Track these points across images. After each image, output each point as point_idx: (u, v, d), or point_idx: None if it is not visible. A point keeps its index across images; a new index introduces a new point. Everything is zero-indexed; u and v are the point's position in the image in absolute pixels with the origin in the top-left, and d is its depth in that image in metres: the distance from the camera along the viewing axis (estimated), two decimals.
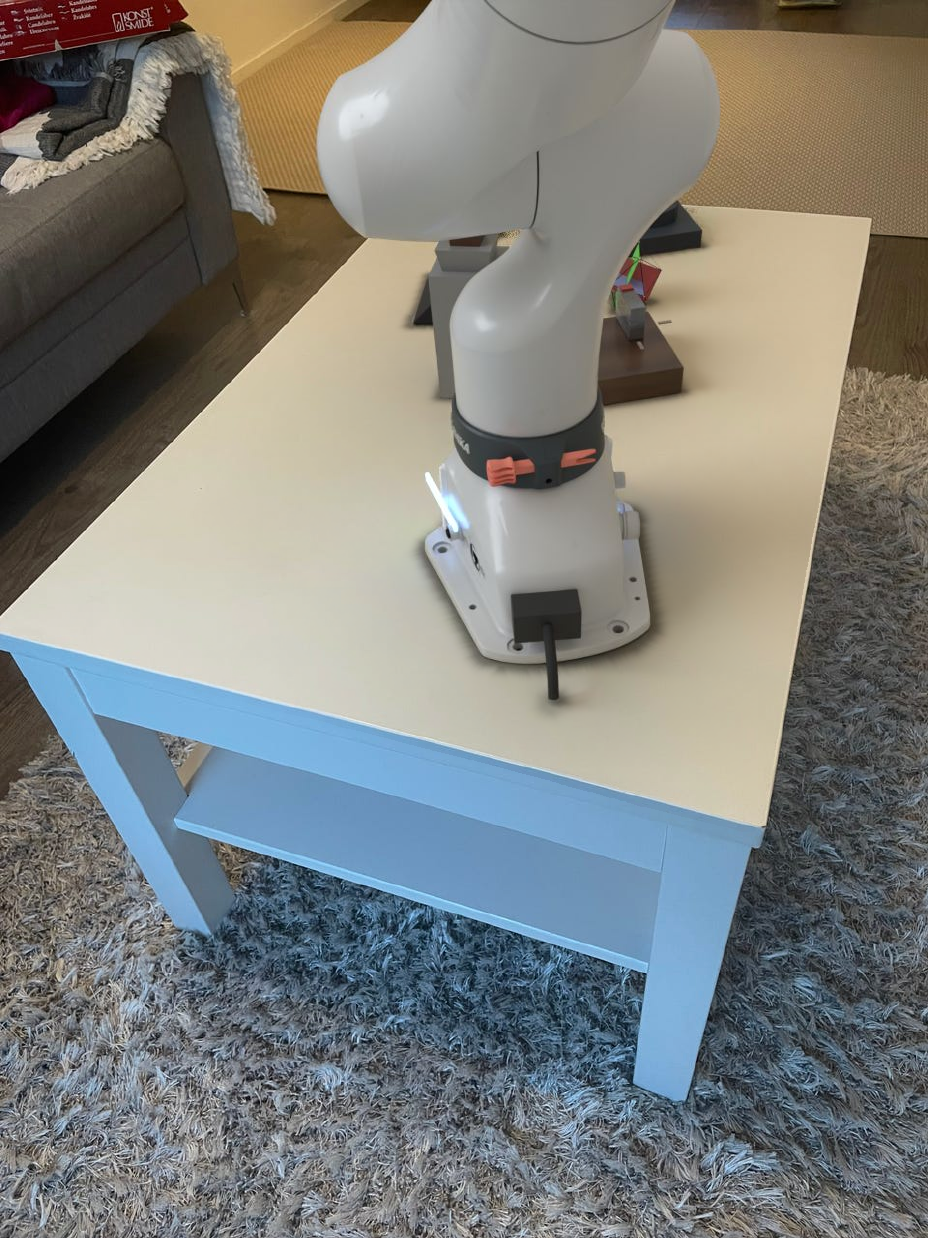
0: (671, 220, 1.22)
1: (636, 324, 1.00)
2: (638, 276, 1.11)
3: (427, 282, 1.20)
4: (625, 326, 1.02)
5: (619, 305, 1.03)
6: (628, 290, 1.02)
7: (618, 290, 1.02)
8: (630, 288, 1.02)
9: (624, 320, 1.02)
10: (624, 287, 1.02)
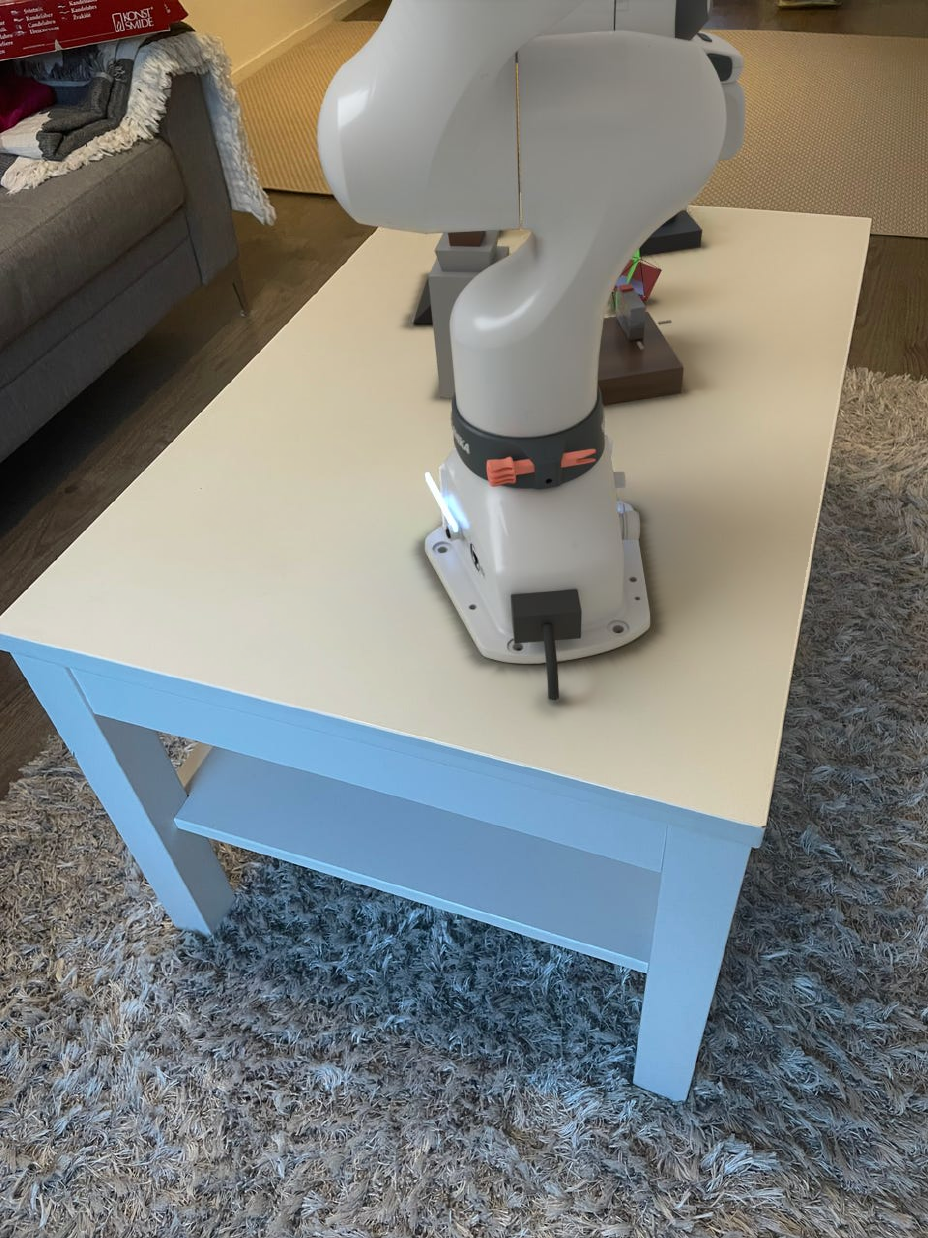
0: (671, 220, 1.22)
1: (636, 324, 1.00)
2: (638, 276, 1.11)
3: (427, 282, 1.20)
4: (625, 326, 1.02)
5: (619, 305, 1.03)
6: (628, 290, 1.02)
7: (618, 290, 1.02)
8: (630, 288, 1.02)
9: (624, 320, 1.02)
10: (624, 287, 1.02)
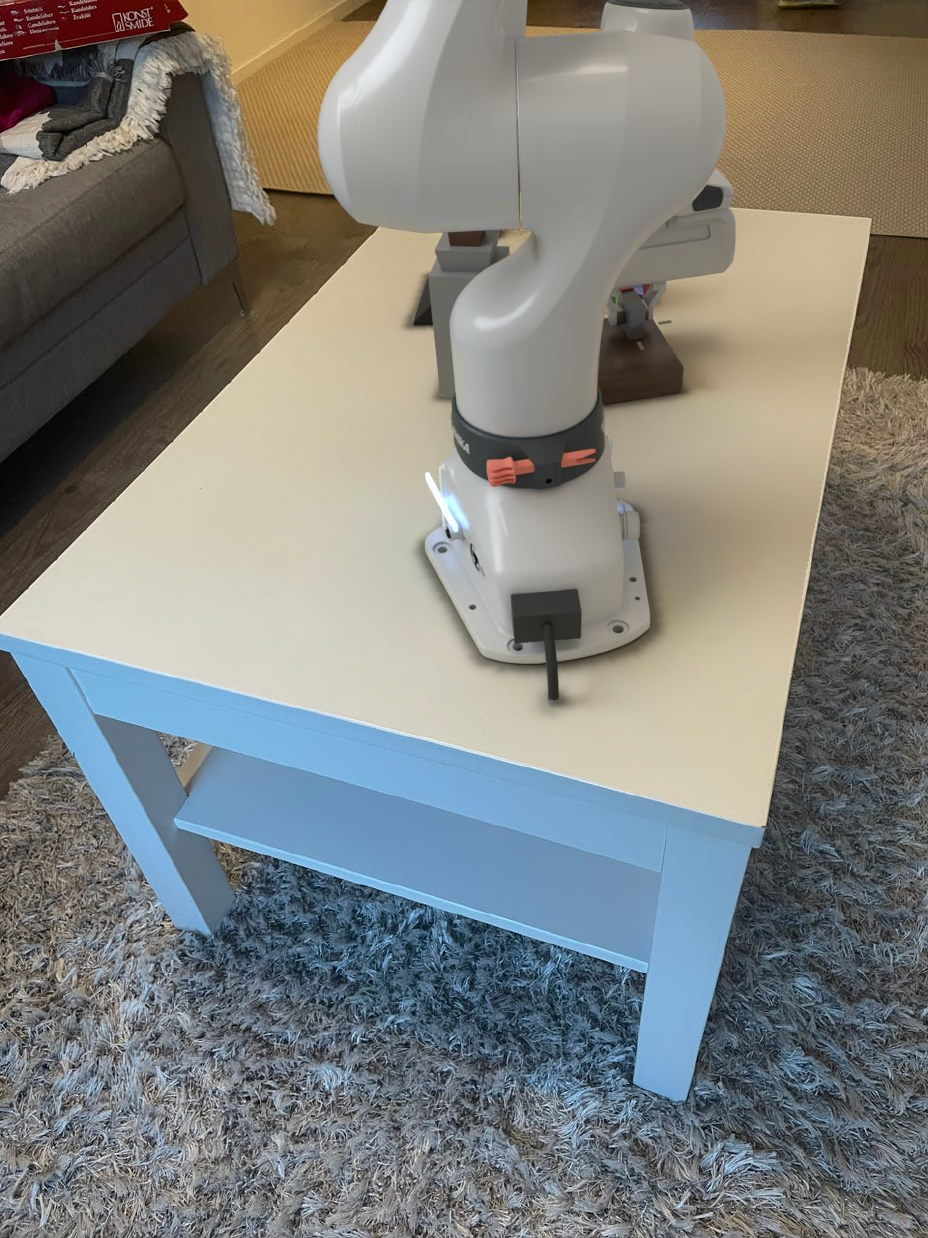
0: None
1: (636, 324, 1.00)
2: None
3: (427, 282, 1.20)
4: (625, 326, 1.02)
5: None
6: (628, 290, 1.02)
7: (618, 290, 1.02)
8: (630, 288, 1.02)
9: None
10: (624, 287, 1.02)
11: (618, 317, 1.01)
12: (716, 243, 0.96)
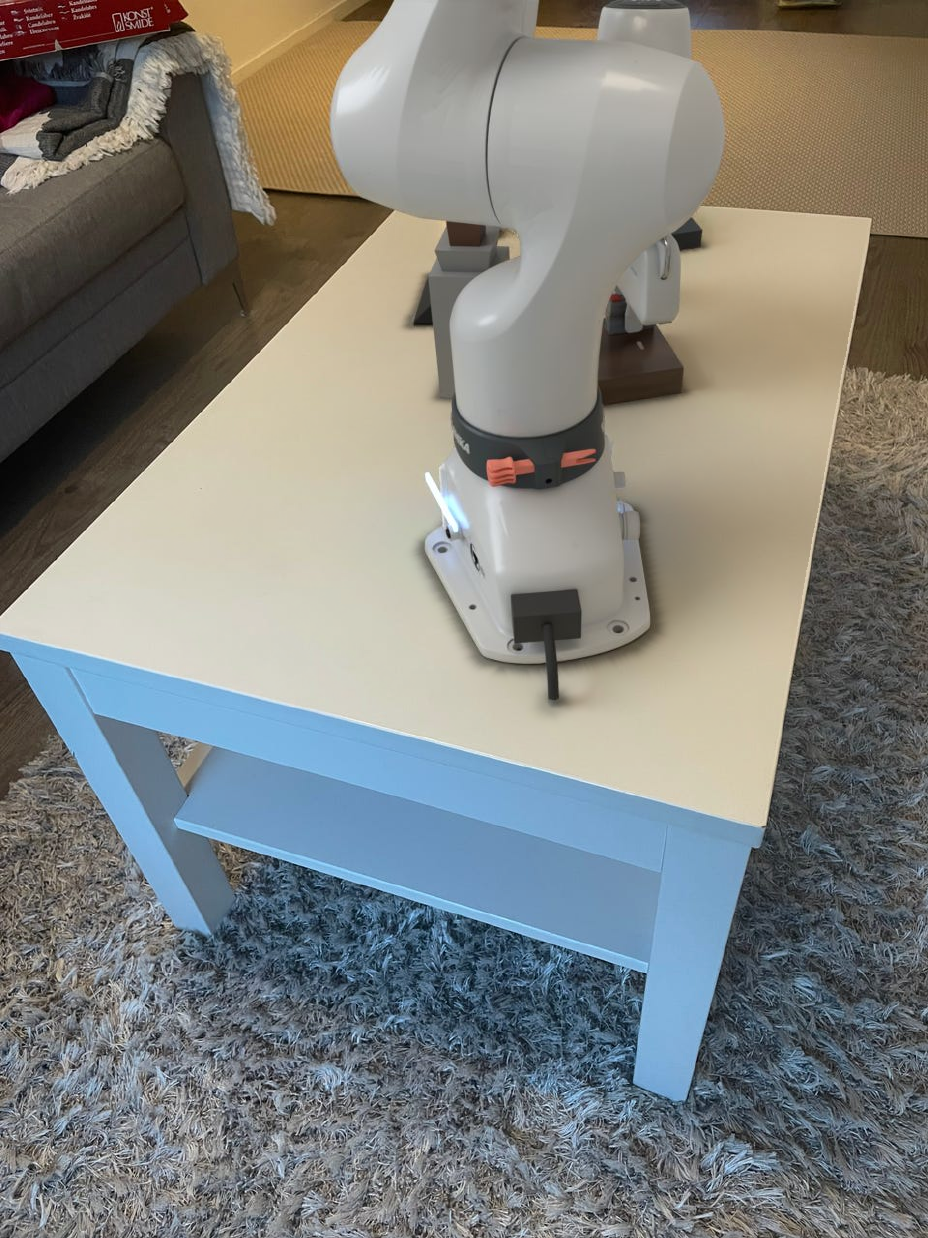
0: None
1: None
2: None
3: (427, 282, 1.20)
4: None
5: (618, 316, 1.01)
6: (618, 297, 1.01)
7: (614, 304, 1.00)
8: (618, 295, 1.01)
9: None
10: (616, 298, 1.00)
11: None
12: None
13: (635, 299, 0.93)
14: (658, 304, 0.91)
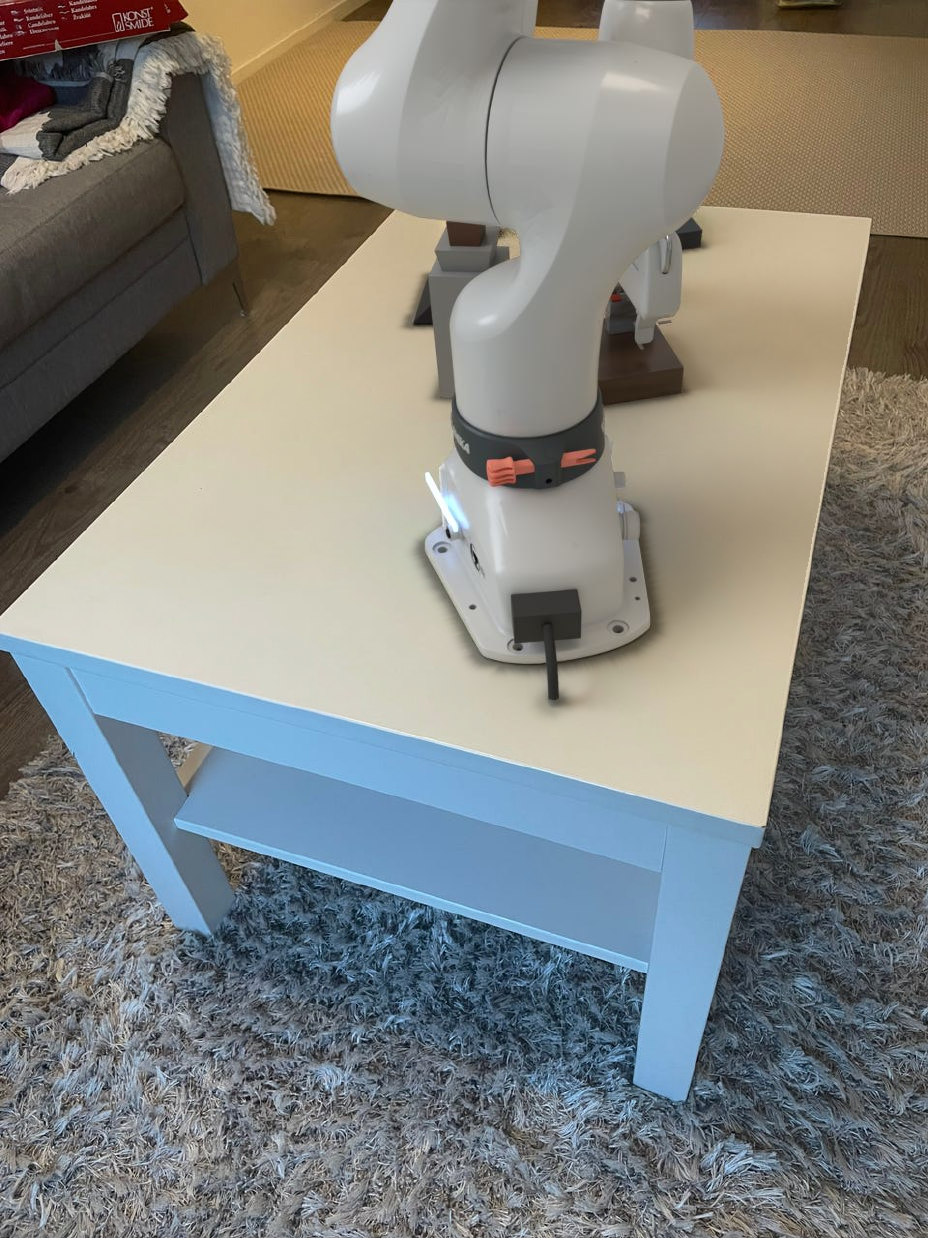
0: None
1: None
2: None
3: (427, 282, 1.20)
4: None
5: (618, 316, 1.01)
6: (618, 297, 1.01)
7: (614, 304, 1.00)
8: (618, 295, 1.01)
9: None
10: (616, 298, 1.00)
11: None
12: None
13: (636, 294, 0.92)
14: (659, 299, 0.90)
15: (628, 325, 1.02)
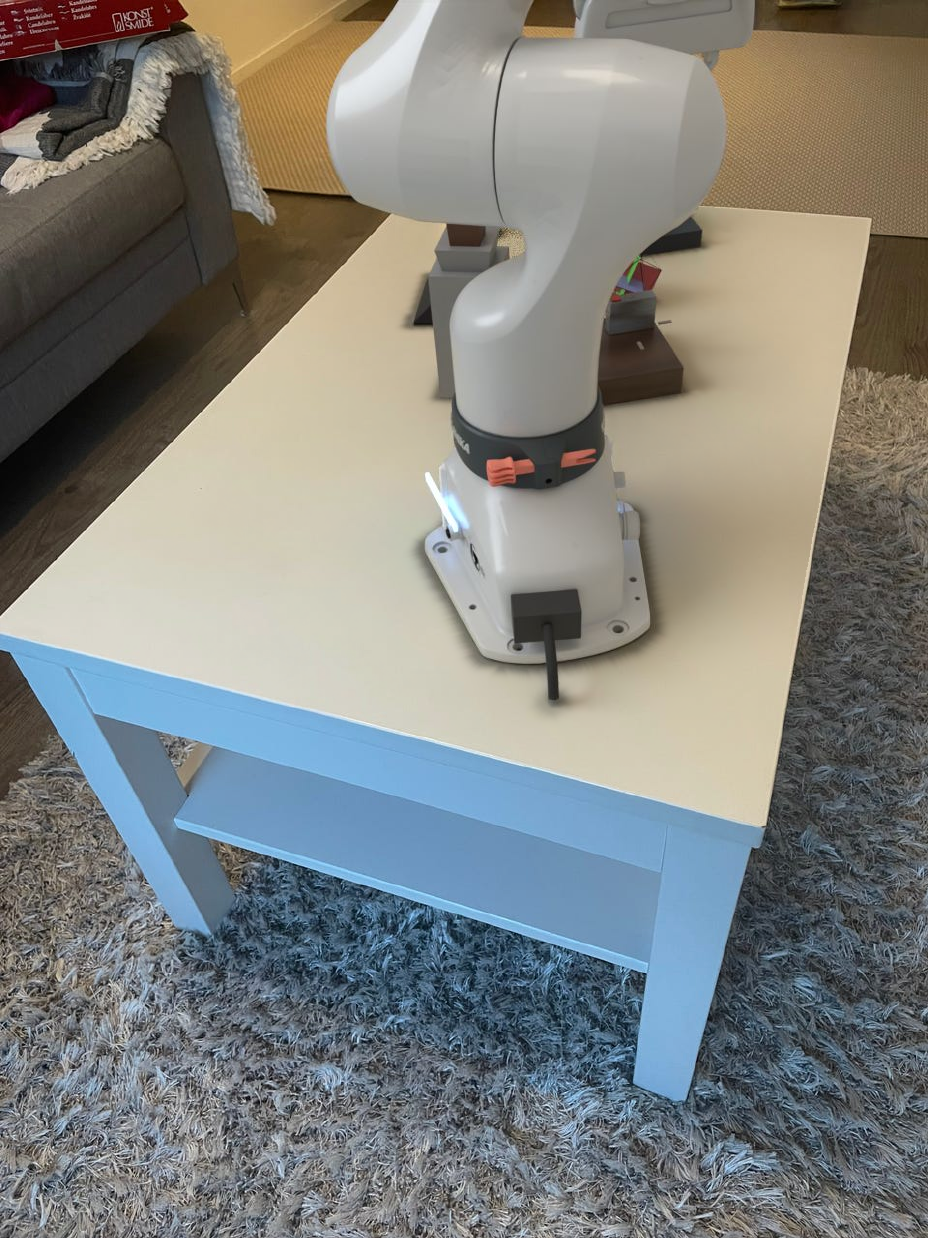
0: None
1: None
2: (638, 276, 1.11)
3: (427, 282, 1.20)
4: (641, 322, 1.02)
5: (618, 316, 1.01)
6: (618, 297, 1.01)
7: (614, 304, 1.00)
8: (618, 295, 1.01)
9: (637, 319, 1.02)
10: (616, 298, 1.00)
11: None
12: (737, 15, 1.07)
13: None
14: None
15: (628, 325, 1.02)
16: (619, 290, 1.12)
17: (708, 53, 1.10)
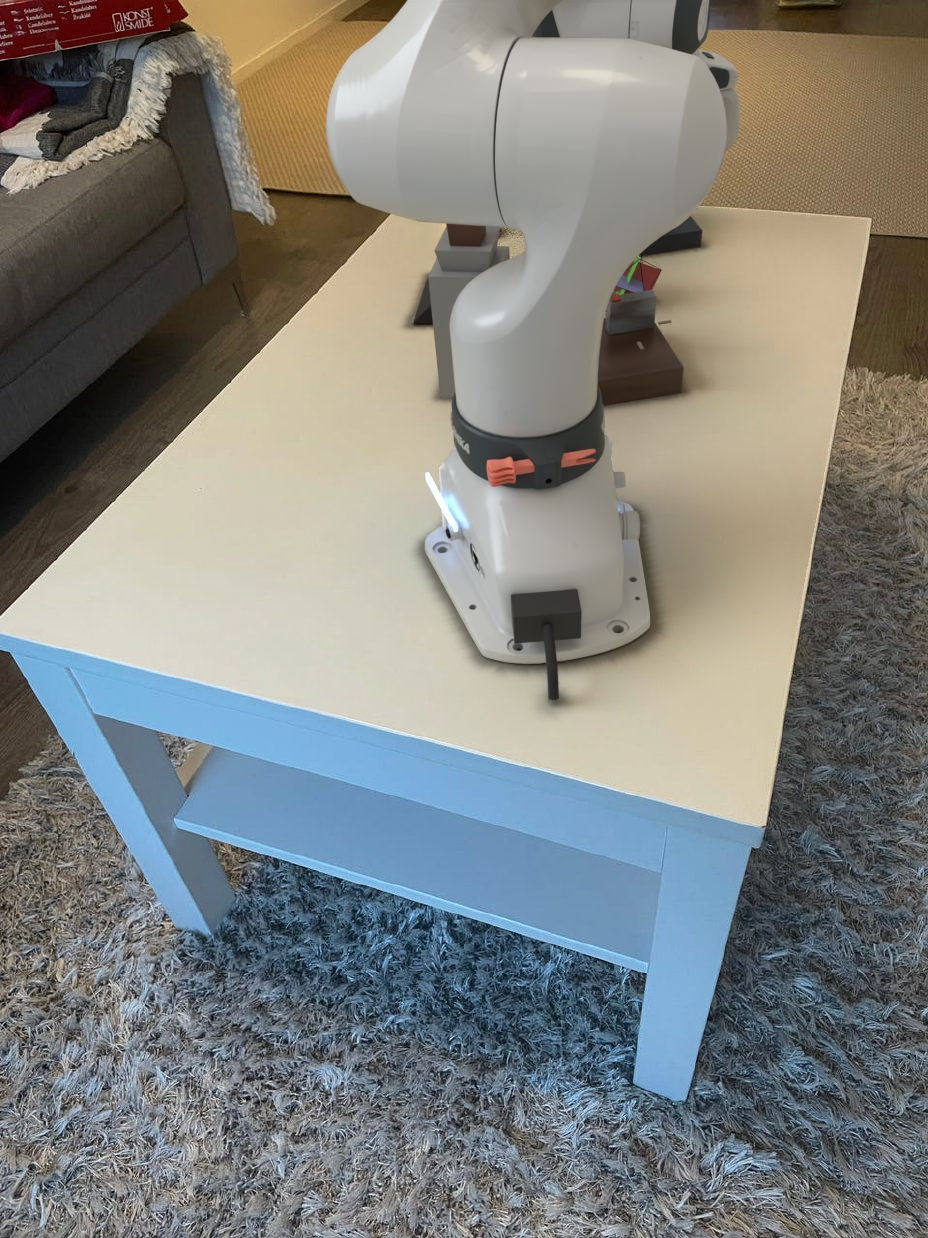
0: None
1: None
2: (638, 276, 1.11)
3: (427, 282, 1.20)
4: (641, 322, 1.02)
5: (618, 316, 1.01)
6: (618, 297, 1.01)
7: (614, 304, 1.00)
8: (618, 295, 1.01)
9: (637, 319, 1.02)
10: (616, 298, 1.00)
11: None
12: None
13: None
14: None
15: (628, 325, 1.02)
16: (619, 290, 1.12)
17: None
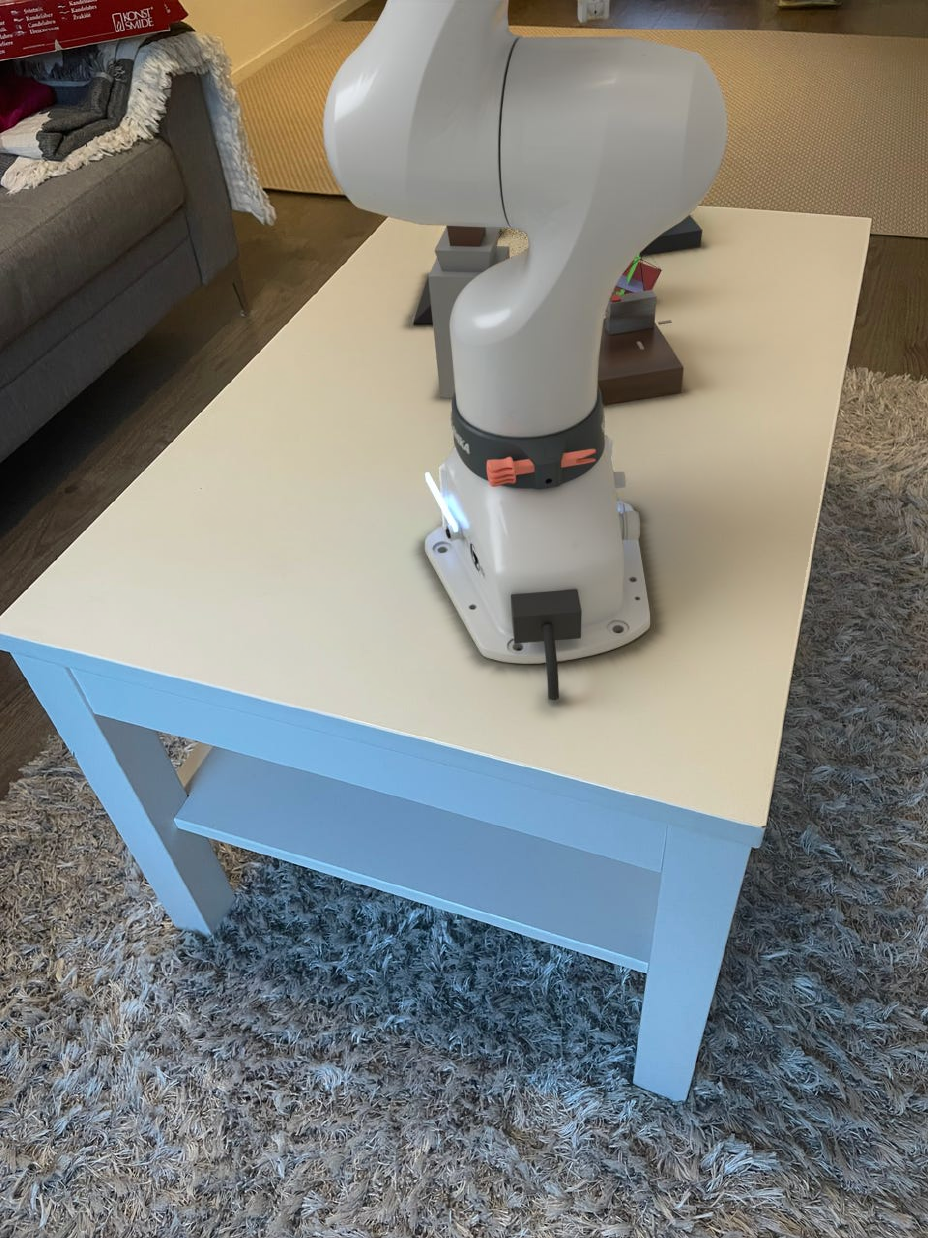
0: None
1: None
2: (638, 276, 1.11)
3: (427, 282, 1.20)
4: (641, 322, 1.02)
5: (618, 316, 1.01)
6: (618, 297, 1.01)
7: (614, 304, 1.00)
8: (618, 295, 1.01)
9: (637, 319, 1.02)
10: (616, 298, 1.00)
11: (588, 11, 0.99)
12: None
13: None
14: None
15: (628, 325, 1.02)
16: (619, 290, 1.12)
17: None
